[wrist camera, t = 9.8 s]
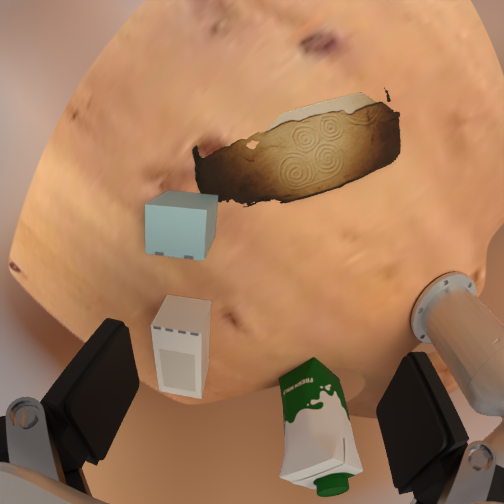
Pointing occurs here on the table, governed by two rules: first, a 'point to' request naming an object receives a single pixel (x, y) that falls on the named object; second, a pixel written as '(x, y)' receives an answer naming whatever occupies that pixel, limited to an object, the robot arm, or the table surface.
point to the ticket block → (182, 345)
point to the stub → (180, 224)
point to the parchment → (304, 152)
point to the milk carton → (317, 431)
